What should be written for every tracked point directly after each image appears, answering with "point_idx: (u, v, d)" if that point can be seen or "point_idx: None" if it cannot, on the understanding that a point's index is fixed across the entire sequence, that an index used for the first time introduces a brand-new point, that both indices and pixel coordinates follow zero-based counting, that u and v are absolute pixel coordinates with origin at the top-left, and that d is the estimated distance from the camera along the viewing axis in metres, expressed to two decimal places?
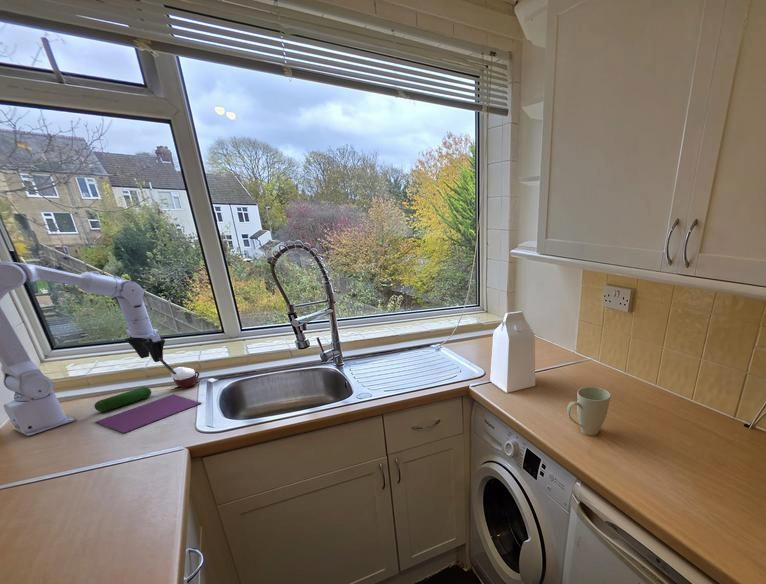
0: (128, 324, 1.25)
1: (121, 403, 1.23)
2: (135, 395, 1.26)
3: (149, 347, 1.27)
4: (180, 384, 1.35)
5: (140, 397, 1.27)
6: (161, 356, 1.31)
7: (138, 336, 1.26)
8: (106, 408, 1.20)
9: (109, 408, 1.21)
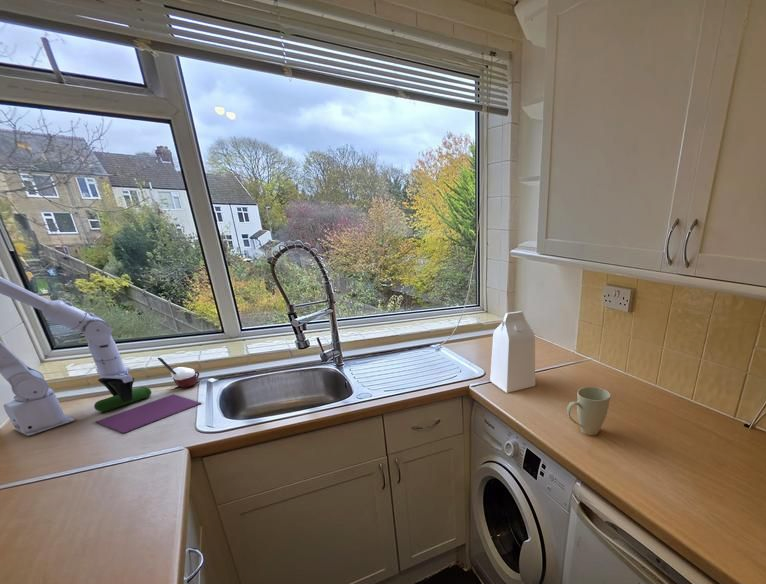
0: (97, 364, 1.17)
1: (121, 403, 1.23)
2: (135, 395, 1.26)
3: (116, 387, 1.19)
4: (180, 384, 1.35)
5: (140, 397, 1.27)
6: (130, 395, 1.24)
7: (108, 377, 1.18)
8: (106, 408, 1.20)
9: (109, 408, 1.21)
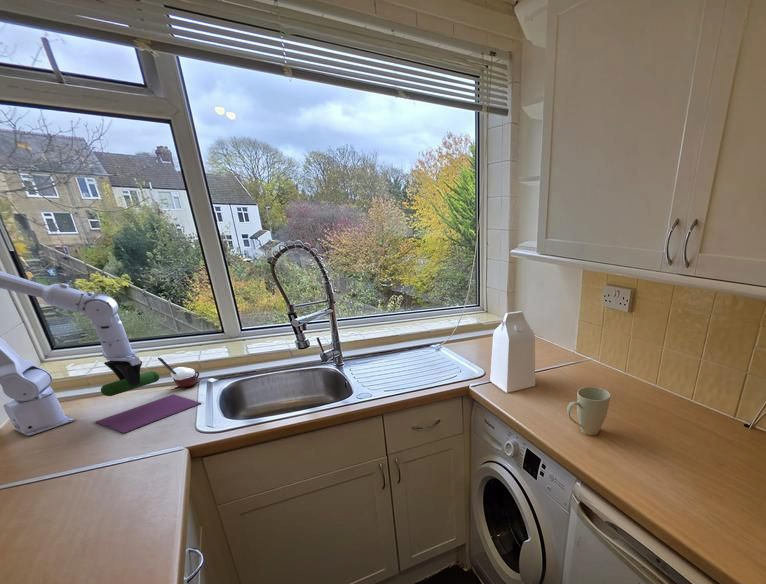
0: (103, 346, 1.11)
1: (128, 387, 1.17)
2: (143, 380, 1.20)
3: (124, 370, 1.14)
4: (180, 384, 1.35)
5: (148, 382, 1.21)
6: (138, 379, 1.18)
7: (115, 359, 1.13)
8: (113, 392, 1.14)
9: (116, 392, 1.15)
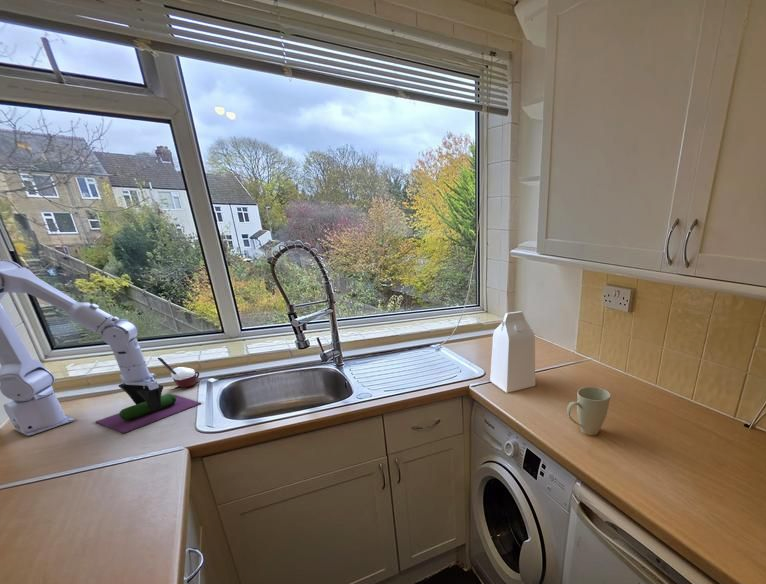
0: (122, 371, 1.12)
1: (146, 411, 1.18)
2: None
3: (145, 395, 1.14)
4: (180, 384, 1.35)
5: (165, 405, 1.22)
6: (159, 404, 1.18)
7: (133, 383, 1.13)
8: (132, 417, 1.15)
9: (134, 417, 1.16)
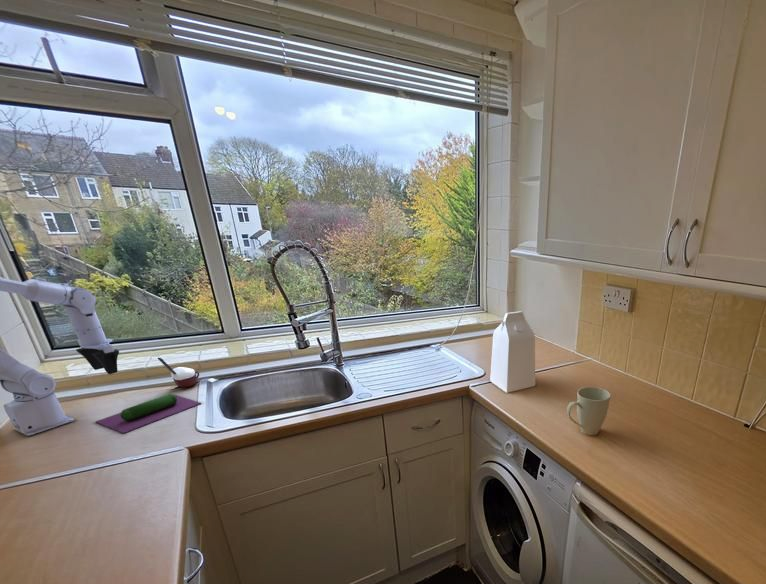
0: (78, 334, 1.17)
1: (147, 413, 1.18)
2: (162, 405, 1.21)
3: (101, 358, 1.19)
4: (180, 384, 1.35)
5: (166, 406, 1.22)
6: (115, 368, 1.23)
7: (89, 347, 1.18)
8: (133, 418, 1.15)
9: (135, 418, 1.16)
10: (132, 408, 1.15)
